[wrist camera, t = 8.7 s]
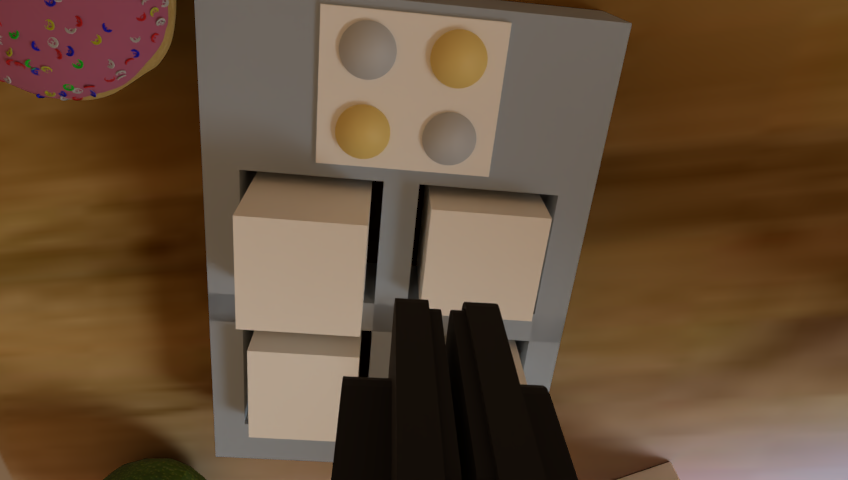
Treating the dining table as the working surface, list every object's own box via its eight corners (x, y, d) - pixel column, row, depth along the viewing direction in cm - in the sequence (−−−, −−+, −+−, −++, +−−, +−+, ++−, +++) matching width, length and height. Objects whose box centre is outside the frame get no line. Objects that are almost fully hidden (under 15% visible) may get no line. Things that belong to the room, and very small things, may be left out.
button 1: (372, 178, 29) (368, 225, 25) (365, 277, 31) (360, 336, 27) (258, 170, 29) (232, 215, 24) (259, 270, 31) (235, 328, 27)
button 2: (364, 300, 34) (359, 357, 30) (358, 378, 37) (353, 442, 32) (267, 294, 34) (247, 350, 30) (267, 372, 36) (248, 437, 32)
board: (602, 11, 29) (635, 24, 25) (518, 420, 39) (532, 477, 35) (219, -29, 28) (190, -21, 24) (233, 405, 38) (213, 462, 34)
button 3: (530, 176, 32) (552, 218, 27) (513, 268, 34) (531, 321, 29) (426, 168, 31) (431, 209, 27) (416, 261, 34) (419, 314, 29)
